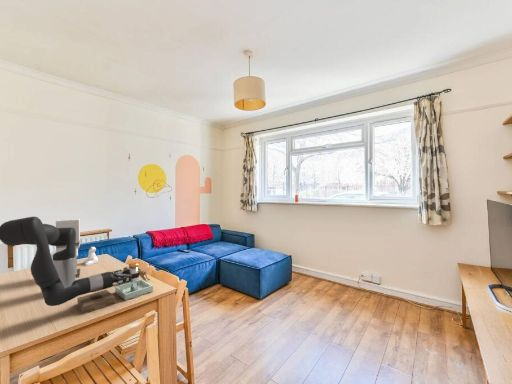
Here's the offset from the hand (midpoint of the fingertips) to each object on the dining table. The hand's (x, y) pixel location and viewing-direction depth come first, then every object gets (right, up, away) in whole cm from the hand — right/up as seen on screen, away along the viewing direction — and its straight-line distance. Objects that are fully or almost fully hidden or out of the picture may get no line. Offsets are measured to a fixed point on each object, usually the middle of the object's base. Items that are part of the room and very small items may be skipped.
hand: (135, 272), depth 124 cm
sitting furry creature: (-55, -9, +45) cm, 72 cm away
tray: (0, -10, 0) cm, 10 cm away
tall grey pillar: (-51, -9, +20) cm, 56 cm away
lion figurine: (-7, -10, +13) cm, 18 cm away
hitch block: (-12, -10, -13) cm, 20 cm away
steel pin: (0, -9, 0) cm, 9 cm away
